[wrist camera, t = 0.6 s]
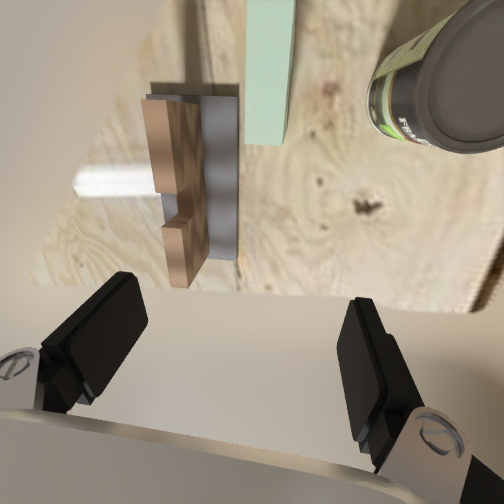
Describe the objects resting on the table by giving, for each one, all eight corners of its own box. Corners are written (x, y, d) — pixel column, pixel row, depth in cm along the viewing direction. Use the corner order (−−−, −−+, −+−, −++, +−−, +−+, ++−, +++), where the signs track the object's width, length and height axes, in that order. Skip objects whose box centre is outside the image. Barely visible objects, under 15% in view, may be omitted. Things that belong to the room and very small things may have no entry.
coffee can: (423, 151, 32) (505, 172, 20) (350, 123, 32) (387, 127, 19) (484, 56, 27) (646, 5, 15) (398, 21, 27) (490, -61, 14)
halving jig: (151, 94, 33) (91, 85, 23) (238, 97, 32) (214, 88, 22) (173, 250, 45) (139, 288, 35) (238, 256, 44) (222, 298, 34)
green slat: (263, 132, 34) (244, 143, 20) (268, 37, 29) (247, -37, 15) (285, 133, 33) (282, 145, 19) (294, 37, 28) (297, -39, 14)
